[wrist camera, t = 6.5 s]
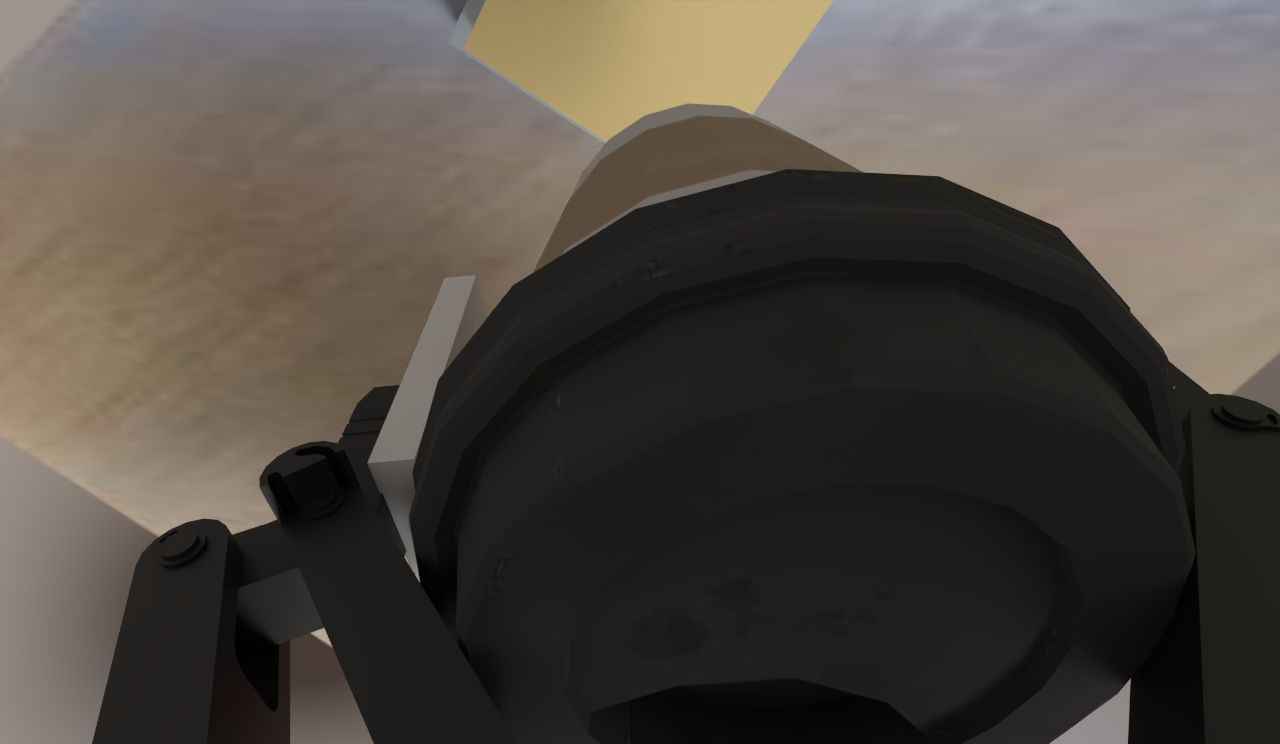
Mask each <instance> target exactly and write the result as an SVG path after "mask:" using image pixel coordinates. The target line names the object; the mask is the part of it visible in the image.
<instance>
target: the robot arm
mask: <svg viewBox="0 0 1280 744" xmlns="http://www.w3.org/2000/svg"><path fill="white" fill-rule="evenodd" d="M486 319H487V317H486V313H485V309H484V304H483V300H482V296H481V292H480V288H479V284H478V280H477V276H476V275H470V276H459V277H449V278H445V279H444V281H443V284H442V286H441V288H440V291H439V293H438V296H437V298H436V300H435V303H434V305H433V308H432V310H431V312H430V315H429V317H428V320H427V322H426V324H425V327H424V329H423V331H422V334H421V336H420V339H419V341H418V343H417V346H416V348H415V351H414V353H413V355H412V358H411V360H410V363H409V365H408V367H407V370H406V372H405V374H404V377H403V379H402V382H401V384H400V385H396V386H385V387H375V388H373V389H372V390H371V391H370V392H369V393H368V394H367V395H366V396H365V397H364V398H363V399H362V400H361V401H359V402H358V403H357V405H356V407H355V409H354V411H353V413H352V415H351V418H350V420H349V424H347V426H346V428H345V430H344V432H343V434H342V435H343V437H342V438H340V440H339V442H338V444H337V443H332V442H327V441H319V442H310V443H306V444H303V445H300V446H297V447H294V448H292V449H290V450H288V451H286V452H285V453H283V454H281V455H279V456H278V457H276V458H275V459H274V460H273V461H272V462H271V463H270V464H269V465H268V466H266V468H265V469H264V471H263V473H262V475H261V476H260V489H261V491H262V493H263V495H264V496H265V498H266V500H267V502H268V503H269V505H270V507H271V509H272V511H273V512H274V514H275V516H276V518H277V520H275V521H273V522H270V523H268V524H264V525H261V526H258V527H255V528H252V529H249V530H246V531H243V532H240V533H237V534H233V535H232V534H231V533H230V531H229V529H228V528H227V526H226V525H225V524H223V523H222V522H220V521H218V520H213V519H200V520H196V521H191V522H187V523H184V524H182V525H180V526H178V527H175V528H173V529H171V530H169V531H168V532H166V533H165V534H163V535H162V536H160V537H159V538H157V539H156V540H154V541H153V542H152V544H150V545H149V546H148V547H147V549H146V550H145V551H144V552H143V553H142V554H141V556H140V559H139V560H138V562H137V565H136V567H135V571H134V575H133V579H132V583H131V587H130V592H129V596H128V600H127V604H126V608H125V612H124V616H123V620H122V625H121V628H120V632H119V636H118V641H117V644H116V649H115V653H114V657H113V661H112V665H111V669H110V673H109V677H108V681H107V685H106V689H105V693H104V698H103V701H102V706H101V710H100V714H99V718H98V722H97V726H96V730H95V734H94V738H93V742H92V744H290V640H292V639H295V638H297V637H300V636H303V635H305V634H308V633H311V632H314V631H316V630H319V629H322V628H325V630H326V633H327V635H328V637H329V640H330V642H331V644H332V647H333V649H334V651H335V654H336V656H337V658H338V661H339V663H340V665H341V668H342V670H343V672H344V675H345V677H346V679H347V682H348V684H349V686H350V689H351V691H352V693H353V696H354V698H355V700H356V703H357V705H358V707H359V709H360V712H361V714H362V717H363V719H364V721H365V724H366V726H367V728H368V731H369V733H370V735H371V738H372V740H373V742H374V744H518V742H517V741H516V739H515V737H514V736H513V734H512V732H511V731H510V729H509V728H508V726H507V724H506V723H505V721H504V719H503V718H502V716H501V715H500V713H499V711H498V710H497V708H496V706H495V705H494V703H493V701H492V700H491V698H490V697H489V695H488V693H487V692H486V690H485V688H484V687H483V685H482V683H481V682H480V680H479V679H478V677H477V675H476V674H475V672H474V670H473V669H472V667H471V666H470V664H469V662H468V661H467V659H466V657H465V656H464V654H463V652H462V651H461V649H460V648H459V646H458V644H457V643H456V641H455V639H454V638H453V636H452V635H451V633H450V631H449V630H448V628H447V626H446V625H445V623H444V621H443V620H442V618H441V617H440V615H439V613H438V612H437V610H436V608H435V607H434V605H433V604H432V602H431V600H430V599H429V597H428V595H427V594H426V592H425V590H424V589H423V587H422V586H421V584H420V582H419V581H418V579H417V577H416V576H415V574H416V573H418V567H417V562H416V556H415V551H414V545H413V540H412V534H411V529H410V522H409V513H410V510H411V506H412V503H413V499H414V496H415V493H416V492H415V486H414V480H413V474H412V471H413V468H414V464H415V461H416V457H417V453H418V450H419V446H420V443H421V439H422V436H423V432H424V429H425V425H426V421H427V418H428V414H429V411H430V407H431V404H432V400H433V397H434V393H435V389H436V386H437V382H438V379H439V378H440V377H441V375H442V374H443V373H444V371H445V370H446V369H447V368H448V366H449V365H450V364H451V363H452V361H453V360H454V359H455V358H456V356H457V355H458V354H459V353H460V351H461V350H462V349H463V348H464V346H465V345H466V344H467V343H468V341H469V340H470V339H471V338H472V336H473V335H474V334H475V333H476V331H477V330H478V329H479V328H480V326H481V325H482V324H483V323H484V321H485V320H486ZM1168 362H1169V361H1168ZM1169 367H1170V372H1171V377H1172V382H1173V387H1174V392H1175V396H1176V401H1177V406H1178V411H1179V416H1180V421H1181V426H1182V431H1183V436H1184V441H1185V446H1186V449H1185V453H1184V456H1183V460H1182V463H1181V467H1180V470H1179V474H1178V477H1179V479H1180V482H1181V486H1182V491H1183V495H1184V500H1185V504H1186V509H1187V514H1188V518H1189V523H1190V527H1191V532H1192V536H1193V541H1194V546H1195V550H1196V555H1195V558H1194V561H1193V564H1192V567H1191V570H1190V573H1189V576H1188V579H1187V582H1186V585H1185V588H1184V591H1183V593H1182V596H1181V598H1180V601H1179V604H1178V606H1177V609H1176V611H1175V614H1174V616H1173V617H1172V619H1171V621H1170V622H1169V624H1168V626H1167V627H1166V629H1165V631H1164V632H1163V634H1162V636H1161V637H1160V639H1159V641H1158V642H1157V644H1156V646H1155V647H1154V649H1153V651H1152V652H1151V654H1150V656H1149V657H1148V658H1147V659H1146V660H1145V662H1144V663H1143V664H1142V665H1141V666H1140V668H1139V669H1138V670H1137V671H1136V672H1135V674H1134V675H1133V676H1132V677H1131V686H1130V710H1129V711H1130V712H1129V734H1128V744H1280V414H1278V413H1277V412H1276V411H1274V410H1273V409H1271V408H1268V407H1266V406H1264V405H1262V404H1260V403H1258V402H1256V401H1252V400H1249V399H1245V398H1242V397H1239V396H1233V395H1224V394H1209V393H1208V392H1207V391H1205V390H1204V389H1203V388H1202V387H1200V386H1199V385H1198V384H1197V383H1195V382H1194V381H1193V380H1192V379H1190V378H1189V377H1188V376H1187V375H1185V374H1184V373H1183V372H1182V371H1180V370H1179V369H1178V368H1177V367H1175V366H1174V365H1173V364H1172V363H1170V362H1169ZM405 554H406V557H407V559H408V561H409V564H410V566H411V568H412V569H411V568H410V566H409V564H408V563H407V561H406V559H405V558H404V557H405Z"/></svg>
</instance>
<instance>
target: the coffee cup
mask: <svg viewBox="0 0 1280 744" xmlns="http://www.w3.org/2000/svg"><path fill="white" fill-rule="evenodd" d="M1185 449H1186V446H1185V441H1184V436H1183V431H1182V426H1181V421H1180V416H1179V411H1178V406H1177V401H1176V396H1175V392H1174V387H1173V382H1172V377H1171V372H1170V367H1169V362H1168V358H1167V356H1166V354H1165V352H1164V350H1163V348H1162V347H1161V346H1160V345H1159V343H1158V342H1157V341H1156V340H1155V339H1154V338H1153V337H1152V336H1151V334H1150V333H1149V332H1148V331H1147V330H1146V329H1145V328H1144V327H1143V325H1142V324H1141V323H1140V322H1139V321H1138V320H1137V319H1136V318H1135V317H1134V315H1133V314H1132V313H1131V312H1130V308H1129V306H1128V305H1127V304H1126V303H1125V302H1124V301H1123V300H1122V298H1121V297H1120V296H1119V295H1118V294H1117V293H1116V292H1115V290H1114V289H1113V288H1112V287H1111V286H1110V285H1109V284H1108V283H1107V281H1106V280H1105V279H1104V278H1103V277H1102V276H1101V275H1100V274H1099V272H1098V271H1097V270H1096V269H1095V268H1094V267H1093V266H1092V265H1091V263H1090V262H1089V261H1088V260H1087V259H1086V258H1085V257H1084V256H1083V254H1082V253H1081V252H1080V251H1079V250H1078V249H1077V248H1076V247H1075V245H1074V244H1073V243H1072V242H1071V241H1070V240H1069V239H1068V238H1067V236H1066V235H1065V234H1064V233H1063V232H1062V231H1061V230H1060V229H1059V228H1058V227H1056V226H1053V225H1051V224H1049V223H1046V222H1044V221H1042V220H1039V219H1037V218H1035V217H1032V216H1030V215H1028V214H1025V213H1023V212H1021V211H1018V210H1016V209H1014V208H1011V207H1009V206H1007V205H1004V204H1002V203H1000V202H997V201H995V200H993V199H991V198H988V197H986V196H984V195H981V194H979V193H977V192H974V191H972V190H970V189H967V188H965V187H963V186H960V185H958V184H956V183H953V182H951V181H949V180H946V179H944V178H942V177H939V176H920V175H901V174H881V173H864V172H862V171H860V170H858V169H856V168H854V167H852V166H850V165H849V164H847V163H845V162H843V161H841V160H839V159H837V158H836V157H834V156H832V155H830V154H828V153H826V152H824V151H823V150H821V149H819V148H817V147H815V146H813V145H811V144H810V143H808V142H806V141H804V140H802V139H800V138H798V137H796V136H795V135H793V134H791V133H789V132H787V131H785V130H783V129H782V128H780V127H778V126H776V125H774V124H772V123H770V122H768V121H766V120H763V119H761V118H759V117H756V116H754V115H752V114H749V113H747V112H744V111H742V110H740V109H737V108H735V107H733V106H724V105H707V104H690V103H687V104H684V105H680V106H677V107H673V108H669V109H666V110H662V111H658V112H655V113H651V114H648V115H645V116H643V117H642V118H640V119H639V120H637V121H636V122H634V123H633V124H631V125H630V126H628V127H627V128H625V129H624V130H622V131H621V132H619V133H618V134H616V135H615V136H613V137H612V138H610V139H609V140H608V141H607V142H606V144H605V145H604V146H603V147H602V149H601V150H600V151H599V153H598V154H597V155H596V156H595V158H594V159H593V160H592V161H591V163H590V164H589V165H588V167H587V168H586V169H585V170H584V172H583V173H582V175H581V177H580V179H579V181H578V183H577V185H576V187H575V189H574V191H573V193H572V195H571V197H570V199H569V201H568V203H567V205H566V207H565V209H564V211H563V213H562V215H561V218H560V220H559V222H558V224H557V226H556V228H555V230H554V232H553V234H552V236H551V238H550V240H549V242H548V244H547V246H546V248H545V250H544V252H543V254H542V256H541V258H540V260H539V262H538V264H537V266H536V268H535V270H534V272H533V273H532V274H531V275H529V276H527V277H526V278H524V279H523V280H521V281H519V282H518V283H516V284H515V285H513V286H512V287H511V289H510V290H509V291H508V292H507V294H506V295H505V296H504V297H503V299H502V300H501V301H500V303H499V304H498V305H497V306H496V308H495V309H494V310H493V311H492V313H491V314H490V315H489V316H488V318H487V319H486V320H485V321H484V323H483V324H482V325H481V326H480V328H479V329H478V330H477V331H476V333H475V334H474V335H473V336H472V338H471V339H470V340H469V341H468V343H467V344H466V345H465V346H464V348H463V349H462V350H461V351H460V353H459V354H458V355H457V356H456V358H455V359H454V360H453V361H452V363H451V364H450V365H449V366H448V368H447V369H446V370H445V371H444V373H443V374H442V375H441V377H440V378H439V379H438V382H437V386H436V389H435V393H434V397H433V400H432V404H431V407H430V411H429V414H428V418H427V421H426V425H425V429H424V432H423V436H422V439H421V443H420V446H419V450H418V453H417V457H416V461H415V464H414V468H413V471H412V474H413V480H414V486H415V492H416V493H415V496H414V499H413V503H412V506H411V510H410V513H409V522H410V529H411V534H412V540H413V545H414V551H415V556H416V562H417V567H418V573H419V578H420V584H421V586H422V587H423V589H424V590H425V592H426V594H427V595H428V597H429V599H430V600H431V602H432V604H433V605H434V607H435V608H436V610H437V612H438V613H439V615H440V617H441V618H442V620H443V621H444V623H445V625H446V626H447V628H448V630H449V631H450V633H451V635H452V636H453V638H454V639H455V641H456V643H457V644H458V646H459V648H460V649H461V651H462V652H463V654H464V656H465V657H466V659H467V661H468V662H469V664H470V666H471V667H472V669H473V670H474V672H475V674H476V675H477V677H478V679H479V680H480V682H481V683H482V685H483V687H484V688H485V690H486V692H487V693H488V695H489V697H490V698H491V700H492V701H493V703H494V705H495V706H496V708H497V710H498V711H499V713H500V715H501V716H502V718H503V719H504V721H505V723H506V724H507V726H508V728H509V729H510V731H511V732H512V734H513V736H514V737H515V739H516V741H517V742H518V744H1049V743H1050V742H1052V741H1053V740H1055V739H1056V738H1057V737H1059V736H1060V735H1062V734H1063V733H1064V732H1066V731H1067V730H1069V729H1070V728H1071V727H1073V726H1074V725H1076V724H1077V723H1078V722H1080V721H1081V720H1082V719H1084V718H1085V717H1087V716H1088V715H1089V714H1091V713H1092V712H1093V711H1095V710H1096V709H1097V708H1099V707H1100V706H1102V705H1103V704H1104V703H1106V702H1107V701H1109V700H1110V699H1111V698H1113V697H1114V696H1115V695H1117V694H1118V693H1119V691H1120V690H1121V689H1122V688H1123V687H1124V685H1125V684H1126V683H1127V682H1128V681H1129V679H1130V678H1131V677H1132V676H1133V675H1134V674H1135V672H1136V671H1137V670H1138V669H1139V668H1140V666H1141V665H1142V664H1143V663H1144V662H1145V660H1146V659H1147V658H1148V657H1149V656H1150V654H1151V652H1152V651H1153V649H1154V647H1155V646H1156V644H1157V642H1158V641H1159V639H1160V637H1161V636H1162V634H1163V632H1164V631H1165V629H1166V627H1167V626H1168V624H1169V622H1170V621H1171V619H1172V617H1173V616H1174V614H1175V611H1176V609H1177V606H1178V604H1179V601H1180V598H1181V596H1182V593H1183V591H1184V588H1185V585H1186V582H1187V579H1188V576H1189V573H1190V570H1191V567H1192V564H1193V561H1194V558H1195V555H1196V550H1195V546H1194V541H1193V536H1192V532H1191V527H1190V523H1189V518H1188V514H1187V509H1186V504H1185V500H1184V495H1183V491H1182V486H1181V482H1180V479H1179V477H1178V474H1179V470H1180V467H1181V463H1182V460H1183V456H1184V453H1185Z"/></svg>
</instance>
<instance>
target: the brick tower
mask: <svg viewBox="0 0 1280 744" xmlns="http://www.w3.org/2000/svg"><path fill="white" fill-rule="evenodd" d="M832 2H833V0H467V1H466V3H465V6H464V8H463V10H462V12H461V14H460V16H459V19H458V21H457V23H456V25H455V27H454V30H453V32H452V34H451V36H450V38H449V41H448V43H449V44H451V45H452V46H454V47H455V48H457V49H459V50H460V51H462V52H463V53H465V54H466V55H468V56H469V57H471V58H472V59H474V60H476V61H477V62H479V63H480V64H482V65H483V66H485V67H486V68H488V69H489V70H491V71H493V72H494V73H496V74H497V75H499V76H500V77H502V78H503V79H505V80H506V81H508V82H510V83H511V84H513V85H514V86H516V87H517V88H519V89H520V90H522V91H523V92H525V93H527V94H528V95H530V96H531V97H533V98H534V99H536V100H537V101H539V102H540V103H542V104H544V105H545V106H547V107H548V108H550V109H551V110H553V111H554V112H556V113H557V114H559V115H561V116H562V117H564V118H565V119H567V120H568V121H570V122H571V123H573V124H575V125H576V126H578V127H579V128H581V129H582V130H584V131H585V132H587V133H588V134H590V135H592V136H593V137H595V138H596V139H598V140H599V141H601V142H602V143H604V144H606V142H607V141H608V140H609V139H610V138H612V137H613V136H615V135H616V134H618V133H619V132H621V131H622V130H624V129H625V128H627V127H628V126H630V125H631V124H633V123H634V122H636V121H637V120H639V119H640V118H642V117H643V116H645V115H648V114H651V113H655V112H658V111H662V110H666V109H669V108H673V107H677V106H680V105H684V104H687V103H690V104H707V105H724V106H733V107H735V108H737V109H740V110H742V111H744V112H747V113H749V114H752V115H753V113H754V112H755V110H756V109H757V107H758V106H759V105H760V103H761V102H762V100H763V99H764V98H765V96H766V95H767V93H768V92H769V91H770V89H771V88H772V86H773V85H774V83H775V82H776V81H777V79H778V78H779V76H780V75H781V74H782V72H783V71H784V69H785V68H786V67H787V65H788V64H789V62H790V61H791V60H792V58H793V57H794V55H795V54H796V52H797V51H798V50H799V48H800V47H801V45H802V44H803V43H804V41H805V40H806V38H807V37H808V36H809V34H810V33H811V31H812V30H813V28H814V27H815V26H816V24H817V23H818V21H819V20H820V19H821V17H822V16H823V14H824V13H825V12H826V10H827V9H828V7H829V6H830V5H831V3H832Z"/></svg>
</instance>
